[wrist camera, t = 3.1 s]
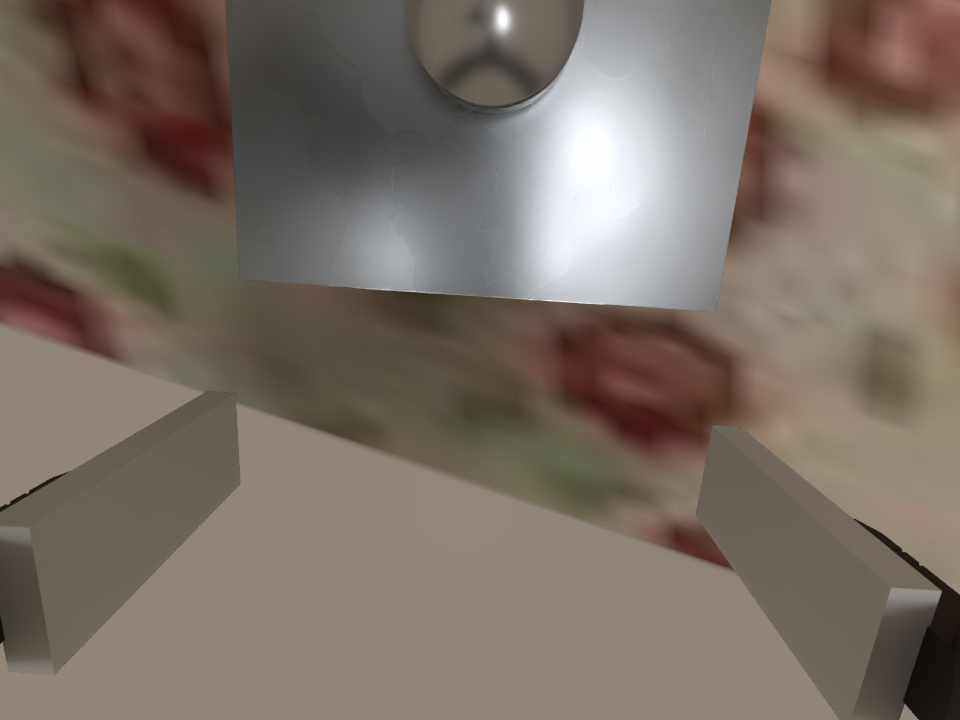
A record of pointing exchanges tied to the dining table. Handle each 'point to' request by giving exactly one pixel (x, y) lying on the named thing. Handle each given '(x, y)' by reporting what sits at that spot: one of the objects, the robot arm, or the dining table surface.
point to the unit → (493, 144)
